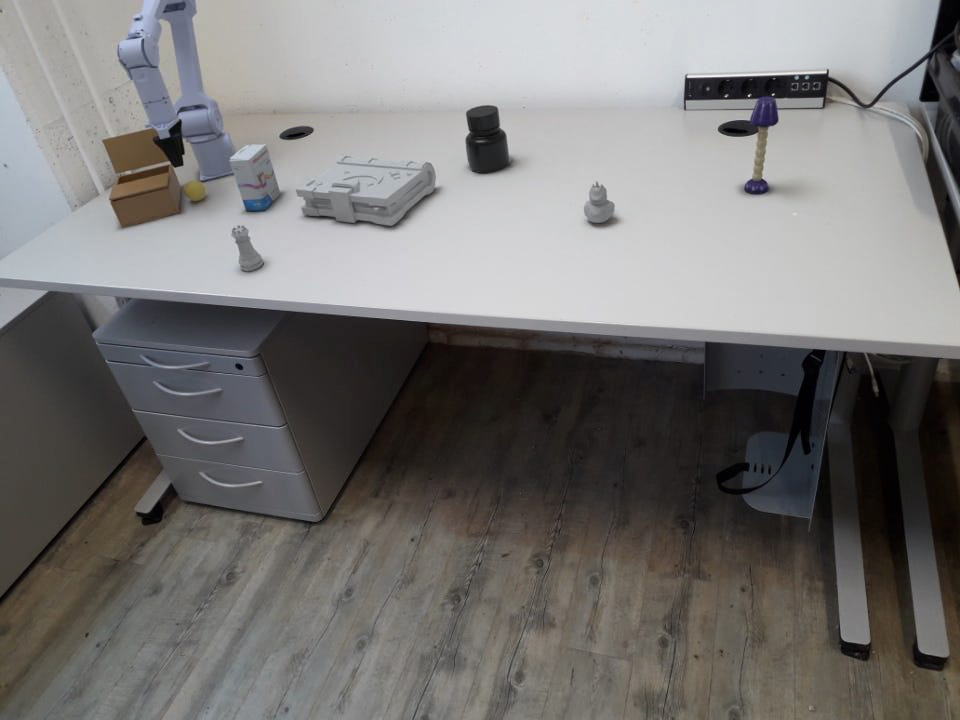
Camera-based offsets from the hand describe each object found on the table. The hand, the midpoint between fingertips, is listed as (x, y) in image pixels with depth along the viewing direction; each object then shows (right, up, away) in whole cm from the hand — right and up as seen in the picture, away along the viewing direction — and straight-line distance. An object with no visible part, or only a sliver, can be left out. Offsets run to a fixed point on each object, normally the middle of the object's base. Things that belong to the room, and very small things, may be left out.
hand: (179, 160), depth 166 cm
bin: (-9, -9, +7) cm, 14 cm away
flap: (-13, +4, +7) cm, 15 cm away
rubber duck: (+88, -18, -29) cm, 95 cm away
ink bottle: (+68, -2, -2) cm, 68 cm away
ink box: (+19, -9, 0) cm, 21 cm away
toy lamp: (+117, -13, -28) cm, 121 cm away
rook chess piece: (+23, -26, -24) cm, 42 cm away
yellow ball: (+2, -6, +5) cm, 7 cm away
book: (+41, -11, -8) cm, 44 cm away
